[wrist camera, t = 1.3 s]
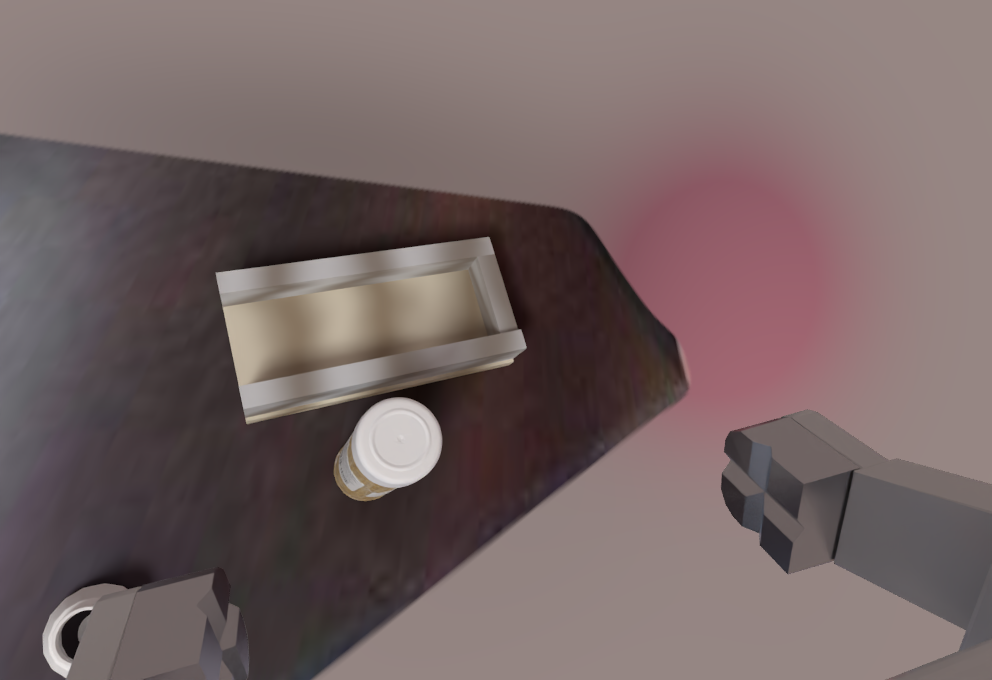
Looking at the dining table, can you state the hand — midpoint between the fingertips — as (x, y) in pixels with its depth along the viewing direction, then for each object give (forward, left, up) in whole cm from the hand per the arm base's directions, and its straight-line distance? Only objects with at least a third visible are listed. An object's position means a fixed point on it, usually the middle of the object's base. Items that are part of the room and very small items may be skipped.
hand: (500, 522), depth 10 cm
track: (+7, +14, -35) cm, 38 cm away
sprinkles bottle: (+4, +4, -35) cm, 36 cm away
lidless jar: (-13, -1, -35) cm, 38 cm away
